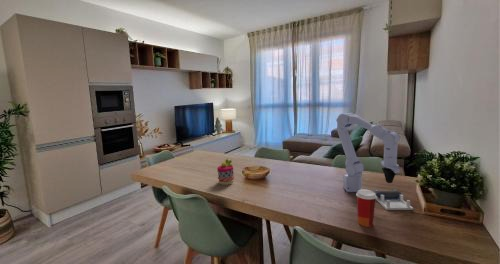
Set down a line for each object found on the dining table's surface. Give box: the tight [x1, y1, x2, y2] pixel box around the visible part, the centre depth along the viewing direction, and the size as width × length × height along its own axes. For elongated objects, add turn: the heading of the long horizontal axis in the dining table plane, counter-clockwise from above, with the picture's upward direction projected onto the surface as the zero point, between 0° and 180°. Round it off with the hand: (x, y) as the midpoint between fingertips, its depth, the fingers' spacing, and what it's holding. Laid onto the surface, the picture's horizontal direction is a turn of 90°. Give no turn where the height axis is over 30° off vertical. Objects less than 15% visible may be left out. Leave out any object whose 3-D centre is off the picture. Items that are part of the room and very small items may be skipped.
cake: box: [217, 158, 235, 186], centre depth 155 cm, size 10×11×15 cm
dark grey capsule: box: [376, 190, 402, 198], centre depth 121 cm, size 12×4×4 cm, turn 86°
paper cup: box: [355, 188, 377, 228], centre depth 101 cm, size 8×8×14 cm
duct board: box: [374, 189, 414, 211], centre depth 118 cm, size 12×15×4 cm
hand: (389, 182), depth 120 cm, fingers closed
